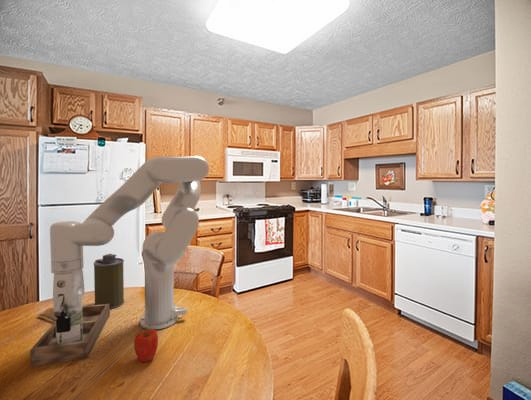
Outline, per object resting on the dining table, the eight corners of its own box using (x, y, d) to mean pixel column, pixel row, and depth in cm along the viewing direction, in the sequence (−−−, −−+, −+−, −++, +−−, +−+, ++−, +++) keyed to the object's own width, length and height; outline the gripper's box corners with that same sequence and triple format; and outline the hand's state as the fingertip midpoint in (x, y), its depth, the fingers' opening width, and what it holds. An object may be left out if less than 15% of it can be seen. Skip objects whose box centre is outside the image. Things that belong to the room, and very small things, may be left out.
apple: (140, 351, 79) (140, 326, 78) (161, 351, 79) (161, 326, 78) (129, 365, 73) (129, 338, 72) (152, 366, 72) (152, 339, 72)
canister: (130, 300, 112) (129, 252, 111) (110, 311, 102) (109, 259, 101) (108, 297, 115) (107, 250, 113) (86, 308, 104) (85, 257, 103)
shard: (55, 325, 93) (55, 319, 93) (28, 328, 91) (28, 323, 91) (67, 310, 103) (67, 306, 103) (43, 313, 101) (43, 308, 101)
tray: (109, 315, 99) (109, 303, 99) (87, 358, 75) (87, 342, 75) (68, 320, 95) (67, 307, 95) (30, 366, 71) (30, 350, 71)
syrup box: (79, 332, 83) (77, 286, 83) (83, 340, 79) (82, 292, 78) (55, 339, 79) (54, 291, 79) (59, 348, 75) (57, 297, 74)
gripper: (71, 273, 71) (73, 338, 72) (91, 256, 87) (93, 309, 89) (36, 275, 69) (39, 343, 70) (64, 257, 85) (66, 312, 86)
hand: (69, 324), depth 79 cm, fingers closed on syrup box, 7 cm apart
